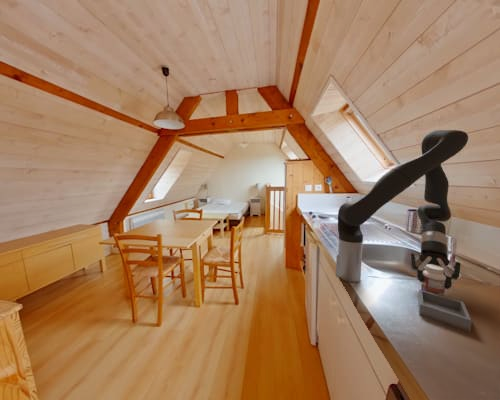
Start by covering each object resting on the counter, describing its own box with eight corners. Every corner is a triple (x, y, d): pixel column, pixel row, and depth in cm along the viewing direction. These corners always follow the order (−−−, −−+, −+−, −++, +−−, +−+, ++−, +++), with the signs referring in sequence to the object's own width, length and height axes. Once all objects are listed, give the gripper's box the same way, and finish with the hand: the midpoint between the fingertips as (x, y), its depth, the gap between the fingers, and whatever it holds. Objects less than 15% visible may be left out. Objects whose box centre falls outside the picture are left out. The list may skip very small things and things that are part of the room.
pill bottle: (420, 288, 73) (423, 261, 72) (443, 294, 69) (446, 266, 68) (420, 295, 69) (423, 267, 67) (444, 302, 64) (447, 272, 63)
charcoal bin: (419, 314, 59) (420, 304, 58) (418, 298, 67) (418, 289, 66) (470, 332, 52) (471, 320, 51) (462, 312, 60) (463, 301, 59)
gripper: (410, 236, 77) (408, 274, 69) (462, 244, 68) (466, 288, 60) (409, 245, 82) (407, 281, 74) (457, 253, 72) (461, 296, 64)
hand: (433, 284), depth 67 cm, fingers closed on pill bottle, 6 cm apart
